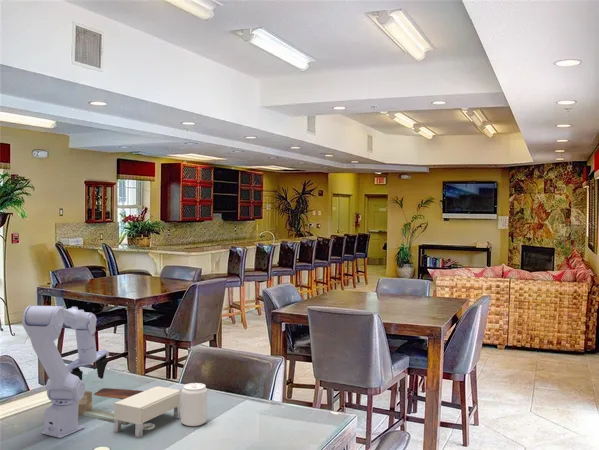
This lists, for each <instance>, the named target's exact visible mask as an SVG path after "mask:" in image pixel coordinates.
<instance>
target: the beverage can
mask: <svg viewBox="0 0 599 450" xmlns="http://www.w3.org/2000/svg"><path fill="white" fill-rule="evenodd" d="M206 385H207V384H205V383H202V382H191V383H186V384H184V385H183V388H182V389H181V405H180V419H181V422H180V423H182V424H183V425H185V426H187V427H198V426H201V425H203V424H205V423H207V416H208V414H207V412H208V411H207V408H208V389H207V387H206Z"/></svg>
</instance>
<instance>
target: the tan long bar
mask: <svg viewBox="0 0 599 450" xmlns="http://www.w3.org/2000/svg"><path fill="white" fill-rule="evenodd" d="M78 415H82V416H83V417H87V418H91V419H97V420H101V421H103V422H104V421H105V422H110V423H113V424H114V412H109V411H105V410H102V409H101V410H100V409H96V408H93V391H87V390H85V393H84V396H83V398H82V399H81V400H80V401H78ZM130 424H131V423H130V422H125V421H121V426H126V425H130Z"/></svg>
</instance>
